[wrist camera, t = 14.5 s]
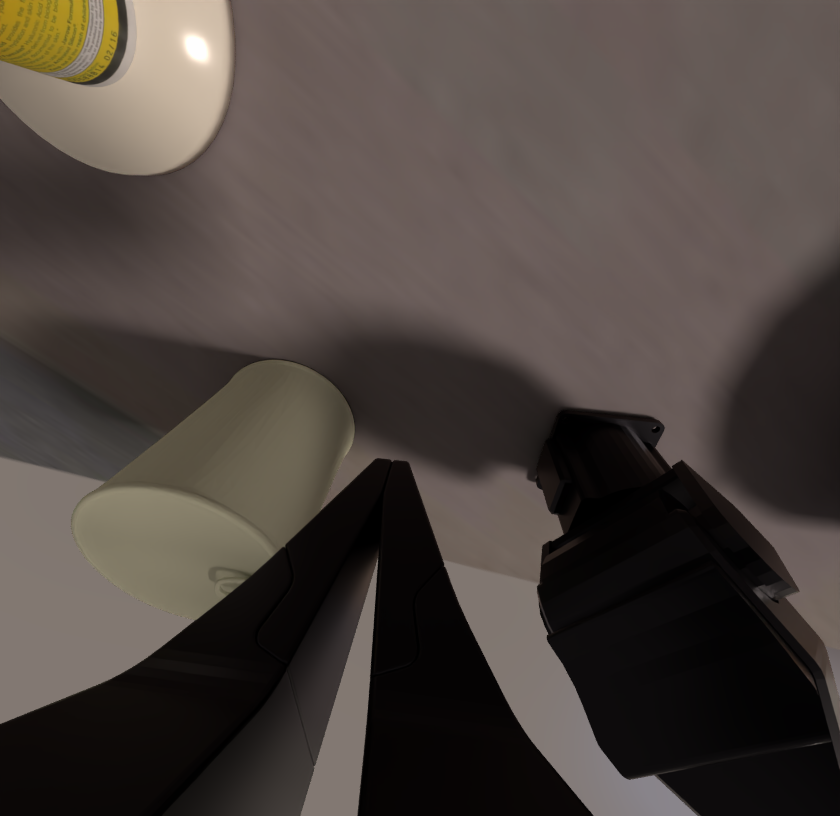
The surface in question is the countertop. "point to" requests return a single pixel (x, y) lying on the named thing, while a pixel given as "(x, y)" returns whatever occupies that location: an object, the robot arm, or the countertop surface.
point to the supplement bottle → (70, 38)
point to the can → (219, 489)
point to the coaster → (140, 94)
